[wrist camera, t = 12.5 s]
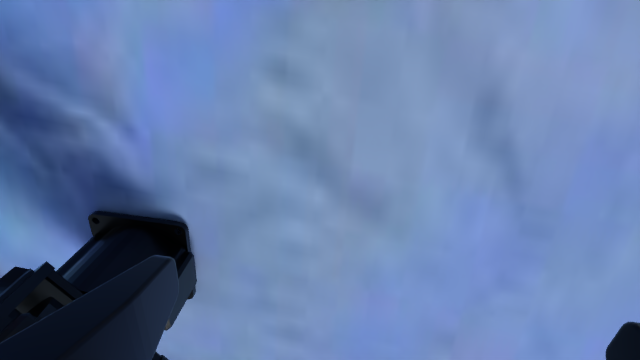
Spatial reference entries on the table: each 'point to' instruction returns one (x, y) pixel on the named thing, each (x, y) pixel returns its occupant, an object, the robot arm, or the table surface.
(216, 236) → the table surface
